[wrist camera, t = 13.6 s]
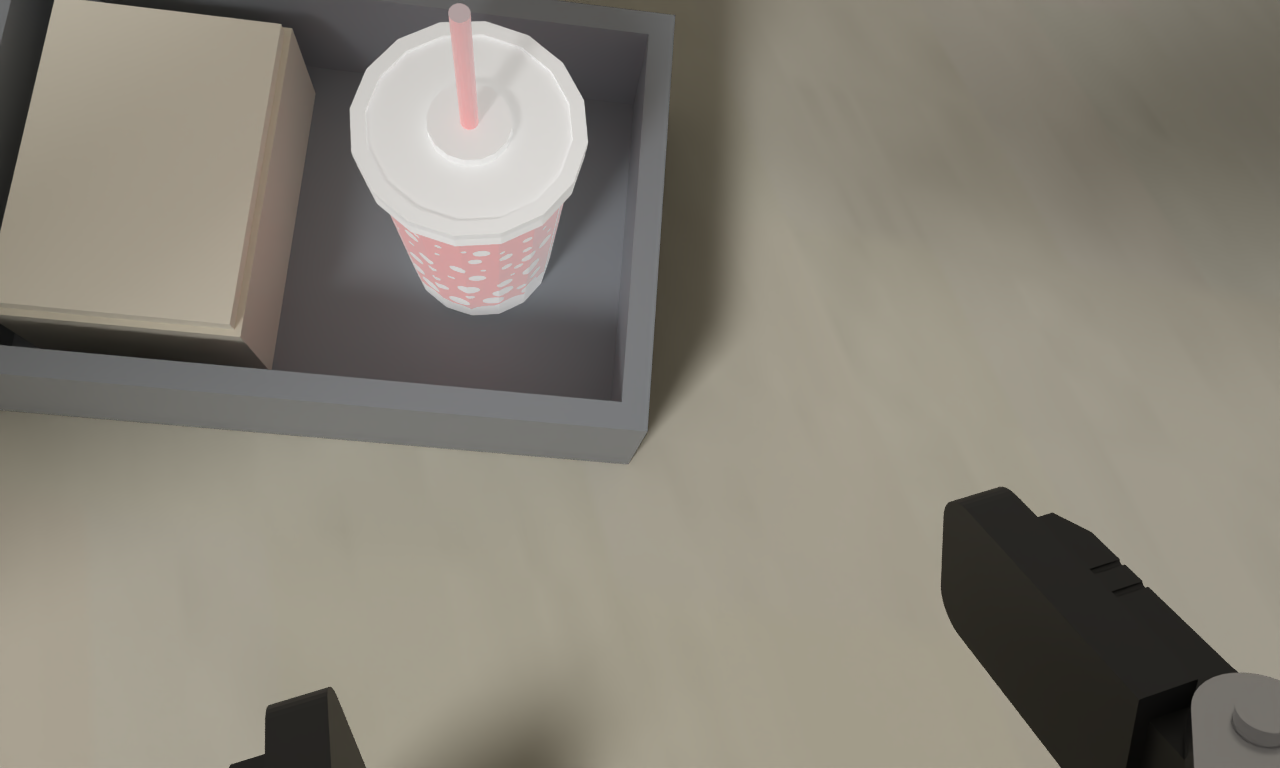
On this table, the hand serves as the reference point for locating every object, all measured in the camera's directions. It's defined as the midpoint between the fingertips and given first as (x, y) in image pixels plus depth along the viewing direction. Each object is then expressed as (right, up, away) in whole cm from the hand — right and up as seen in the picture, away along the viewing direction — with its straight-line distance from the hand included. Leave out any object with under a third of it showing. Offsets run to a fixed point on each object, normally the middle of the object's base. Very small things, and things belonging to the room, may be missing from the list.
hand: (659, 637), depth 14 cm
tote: (-10, +8, +23) cm, 27 cm away
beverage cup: (-6, +8, +23) cm, 25 cm away
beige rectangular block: (-15, +9, +22) cm, 28 cm away
